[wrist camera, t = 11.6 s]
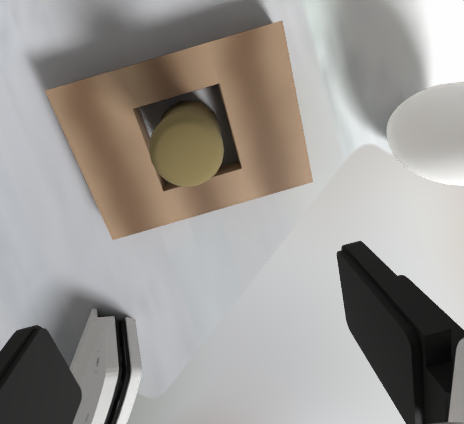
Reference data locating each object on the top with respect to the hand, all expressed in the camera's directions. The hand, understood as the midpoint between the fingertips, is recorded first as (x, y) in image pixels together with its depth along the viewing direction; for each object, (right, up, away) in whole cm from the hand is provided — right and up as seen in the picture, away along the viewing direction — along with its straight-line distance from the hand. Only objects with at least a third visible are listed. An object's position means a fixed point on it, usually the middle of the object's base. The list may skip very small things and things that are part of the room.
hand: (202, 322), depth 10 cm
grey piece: (-15, -16, +31) cm, 38 cm away
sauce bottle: (+18, +12, +24) cm, 32 cm away
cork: (-3, +11, +22) cm, 25 cm away
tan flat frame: (-3, +11, +22) cm, 25 cm away
